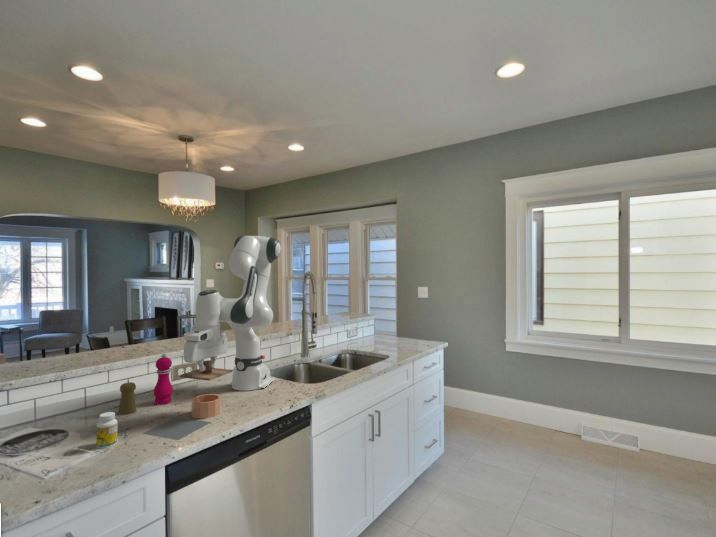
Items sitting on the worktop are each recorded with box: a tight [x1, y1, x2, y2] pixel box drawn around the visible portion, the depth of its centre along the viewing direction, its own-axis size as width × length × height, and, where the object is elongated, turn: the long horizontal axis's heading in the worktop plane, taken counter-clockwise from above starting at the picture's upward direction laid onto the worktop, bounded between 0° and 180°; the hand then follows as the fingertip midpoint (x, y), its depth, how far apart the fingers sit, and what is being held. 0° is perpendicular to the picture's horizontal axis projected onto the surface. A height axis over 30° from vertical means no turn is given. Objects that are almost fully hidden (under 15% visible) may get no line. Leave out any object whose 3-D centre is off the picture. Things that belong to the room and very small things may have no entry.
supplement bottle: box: [95, 411, 118, 449], centre depth 115 cm, size 5×5×10 cm
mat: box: [142, 416, 212, 441], centre depth 127 cm, size 15×15×1 cm
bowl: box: [191, 393, 222, 420], centre depth 141 cm, size 10×10×6 cm
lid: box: [179, 360, 233, 381], centre depth 141 cm, size 13×13×5 cm
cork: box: [117, 381, 137, 416], centre depth 142 cm, size 6×6×11 cm
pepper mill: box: [152, 353, 174, 406], centre depth 154 cm, size 7×7×20 cm
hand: (206, 369), depth 141 cm, fingers closed on lid, 3 cm apart
